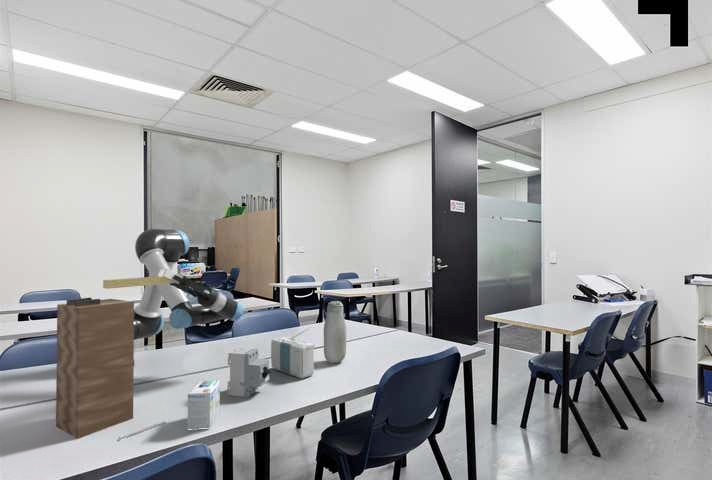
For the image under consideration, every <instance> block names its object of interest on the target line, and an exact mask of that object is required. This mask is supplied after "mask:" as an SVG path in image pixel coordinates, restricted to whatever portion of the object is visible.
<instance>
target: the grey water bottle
mask: <svg viewBox="0 0 712 480" xmlns="http://www.w3.org/2000/svg"><path fill="white" fill-rule="evenodd" d="M326 310H327V311H326V318H325V321H324V324H323V355H324V358H325V360H326V361H327V362H329V363H330V364H339V363H341V362H342V361H344V360H345V357H346V353H347V324H346V320H345V316H344V305H343V303H342V302H341V301H340V300H331V301H330V302H329V303H328V304H327V307H326Z"/></svg>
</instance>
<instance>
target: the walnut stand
mask: <svg viewBox="0 0 712 480" xmlns="http://www.w3.org/2000/svg"><path fill="white" fill-rule="evenodd" d="M56 306H57V307H56V309H57V310H56V311H57V312H56V314H57V315H56V318H57V319H56V380H55V381H56V387H55V389H56V390H55V391H56V393H55V395H56V396H55V397H56V398H55V401H56V402H55V427H56V428H58V429H60V430H61V431H63V432H65V433H66V434H68V435H70V436H72V437H74V438H76V439H81V438H84V437H86V436H87V437H88V436H89V435H91V434H95V433H97V432H100V431H103V430H106V429H107V428H111V427H113V426H116V425H119V424H122V423H125V422H127V421H129V420H132V419H134V376H135V375H134V369H135V359H134V358H135V357H134V355H135V352H134V349H135V348H134V347H135V343H134V342H135V340H134V309H135V301H130V300H123V299H117V298H115V299H114V298H105V299H100V298H92V297H85V298H84V297H83V298H73V299H71V298H70V299H66V303H60V304H59V303H58V304H57V305H56Z"/></svg>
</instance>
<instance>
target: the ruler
mask: <svg viewBox="0 0 712 480" xmlns="http://www.w3.org/2000/svg"><path fill="white" fill-rule="evenodd" d="M164 425H166V420H162V421H160V422H159V421H158V422H157V423H153V424H151V425H149V426H145V427H143V428H140V429H137V430H134V431H132V432H129V433H126V434H123V435H121V436H118V440H119V439H120V440H121V439H124V438H126V439H129V438H132V437H133V436H137V435H139V434H142V433H145V432H147V430H148V431H150V430H153V429H155V427H156V428H158V427H161V426H164ZM157 426H158V427H157ZM152 428H153V429H152ZM149 429H150V430H149ZM144 431H145V432H144ZM131 436H132V437H131ZM128 437H129V438H128ZM120 440H119V441H120ZM124 440H125V439H124ZM121 441H122V440H121Z"/></svg>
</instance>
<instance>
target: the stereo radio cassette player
mask: <svg viewBox="0 0 712 480" xmlns="http://www.w3.org/2000/svg"><path fill="white" fill-rule="evenodd" d="M309 329H312V327H311V326H310V327H309V328H307V329H305V330H303V331H301V332H300V333H297V334H296V335H294V336H292V337H290V336H283V337H277V338H273V339H271V342H270V359H271V361H270V362H271V368H273V369H274V370H277V371H280V372H283V373H285V374H287V375H290V376H293V377H296V378H299V379H301V380H303V379H305V378H309V377H310V376H311V377H312V376H313V375H314V372H315V371H314V370H315V368H314V366H315V365H314V362H315V359H314V357H315V356H314V354H315V353H314V352H315V351H314V350H315V347H316V346H315V343H312V342H308V341H305V340H300V339H297V338H296V337H297V336H298V337H299V336H300V335H301V334H303V333H305V332H306V331H308V330H309Z"/></svg>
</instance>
